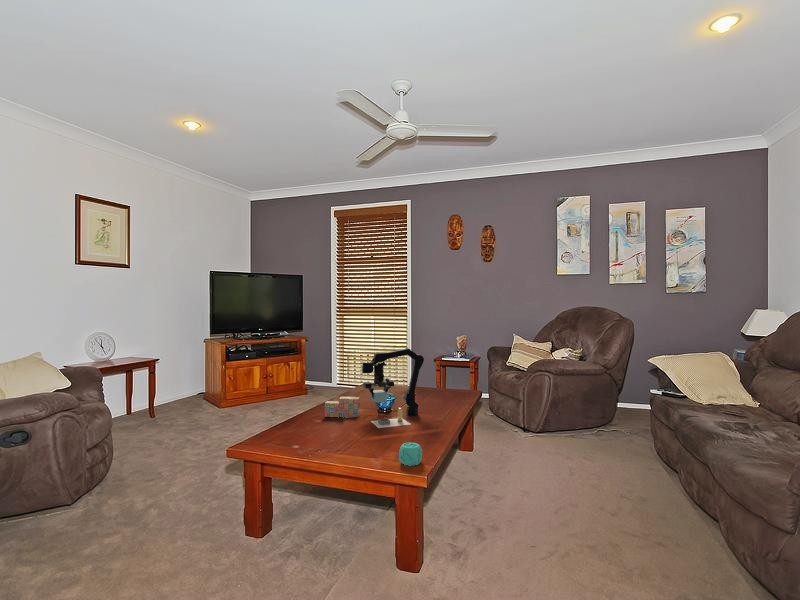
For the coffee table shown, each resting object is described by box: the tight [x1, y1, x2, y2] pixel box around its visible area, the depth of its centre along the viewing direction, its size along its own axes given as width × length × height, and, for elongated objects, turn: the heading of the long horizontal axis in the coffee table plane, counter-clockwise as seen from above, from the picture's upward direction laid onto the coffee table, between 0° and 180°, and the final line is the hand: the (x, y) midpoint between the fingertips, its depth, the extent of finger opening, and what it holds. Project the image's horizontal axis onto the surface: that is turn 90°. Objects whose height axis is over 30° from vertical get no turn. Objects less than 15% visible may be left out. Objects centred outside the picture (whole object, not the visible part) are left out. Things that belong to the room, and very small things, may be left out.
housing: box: [370, 389, 388, 403], centre depth 269 cm, size 7×9×6 cm
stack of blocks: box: [324, 396, 361, 419], centre depth 274 cm, size 21×6×12 cm, turn 85°
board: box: [370, 417, 411, 429], centre depth 255 cm, size 20×15×4 cm
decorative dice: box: [398, 442, 423, 467], centre depth 196 cm, size 8×8×8 cm
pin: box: [397, 407, 404, 422], centre depth 258 cm, size 3×3×8 cm
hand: (378, 398), depth 269 cm, fingers closed on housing, 7 cm apart
